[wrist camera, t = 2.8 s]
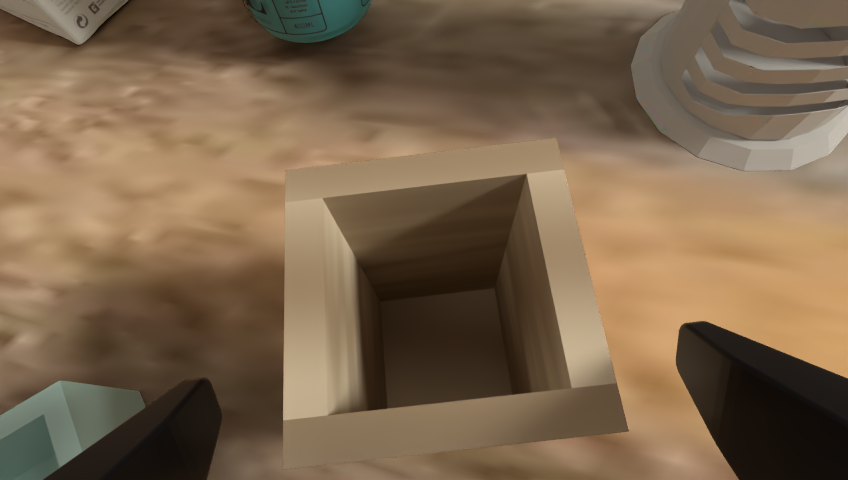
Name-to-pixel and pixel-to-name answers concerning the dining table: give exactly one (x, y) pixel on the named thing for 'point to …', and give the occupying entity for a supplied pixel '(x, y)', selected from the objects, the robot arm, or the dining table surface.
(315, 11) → the beverage bottle
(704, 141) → the french press
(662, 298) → the dining table surface
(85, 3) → the skincare box
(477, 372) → the birch crate
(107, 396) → the teal crate
